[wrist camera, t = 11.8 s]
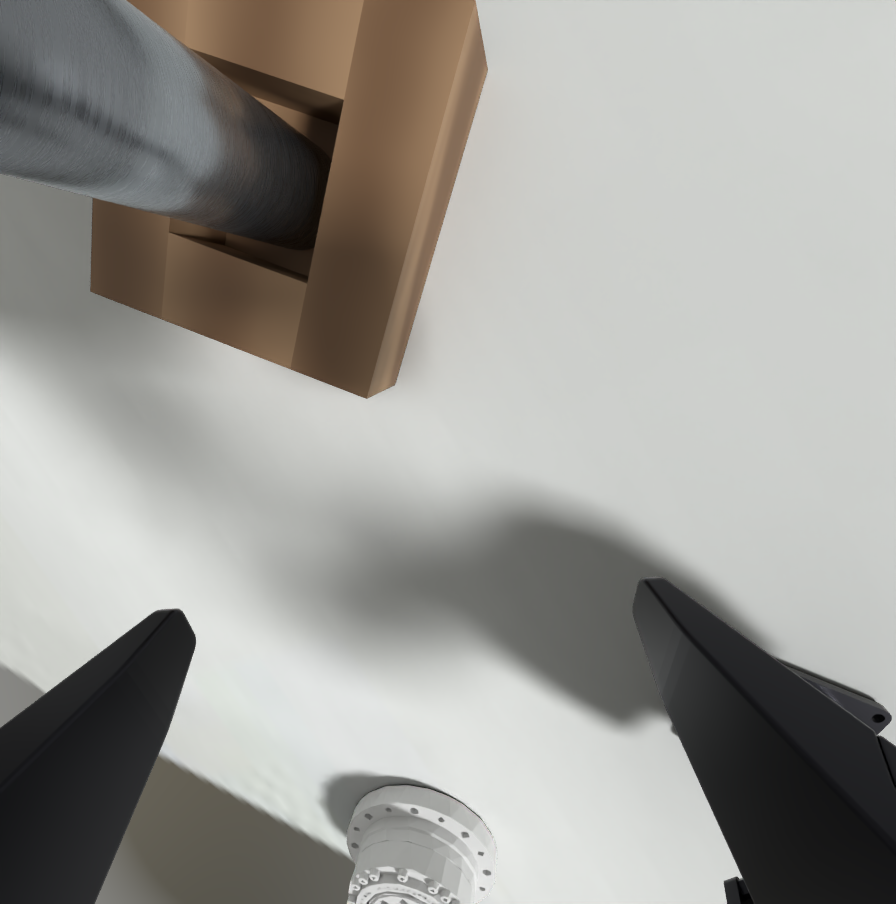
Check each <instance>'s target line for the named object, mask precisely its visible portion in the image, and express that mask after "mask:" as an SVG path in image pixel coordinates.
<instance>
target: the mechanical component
mask: <svg viewBox="0 0 896 904" xmlns="http://www.w3.org/2000/svg"><path fill="white" fill-rule="evenodd" d="M347 845H348V849H349V852H350V855H351V857H352V859H353V860H354V862H355V864H356V867H355V870H354V873H353V876H352V879H351V882H350V887H349V898H348V901H347V904H477V903H479V902H480V901H482V900H483V899H485V898H486V897H488V895H489V893H490V891H491V890H492V888H493V886H494V885H495V878H496V866H497V848H496V845H495V842H494V839H493V836H492V834H491V833H490V831H489V830H488V829H487V827H486V826H485V824H484V823H483V821H482V820H481V819H480V818H479V817H478V816H477V815H475V814H474V813H473V812H472V811H470V810H469V809H468V808H467V807H466V806H464V805H463V804H462V803H460V802H458V801H456V800H455V799H453V798H451V797H449V796H447V795H444V794H441V793H439V792H436V791H434V790H431V789H427V788H421V787H415V786H409V785H400V786H385V787H383V788H380V789H377V790H375V791H372V792H370V793H368V794H367V795H366V796H365V797H363V798H362V799H361V800H360V801H359V803H358V804H357V806H356V807H355V810H354V813H353V816H352V818H351V821H350V824H349V827H348V830H347Z"/></svg>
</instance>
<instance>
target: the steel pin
mask: <svg viewBox="0 0 896 904" xmlns="http://www.w3.org/2000/svg"><path fill="white" fill-rule="evenodd" d="M331 162H332V161H331V159H330V158H329V157H328V155H327V154H326V153H325V152H324V151H323V150H322V149H321V148H320V147H319V146H317V145H316V144H315V143H313V142H312V141H311V140H309V139H308V138H307V137H305V136H304V135H303V134H302V133H300V132H299V131H298V130H296V129H295V128H294V127H292V126H291V125H290V124H288V123H287V122H286V121H284V120H283V119H282V118H280V117H279V116H278V115H277V114H275V113H274V112H273V111H271V110H270V109H269V108H267V107H266V106H265V105H263V104H262V103H261V102H259V101H258V100H257V99H255V98H254V97H253V96H252V95H250V94H249V93H248V92H246V91H245V90H244V89H242V88H241V87H240V86H238V85H237V84H236V83H234V82H233V81H232V80H230V79H229V78H228V77H227V76H225V75H224V74H223V73H221V72H220V71H219V70H217V69H216V68H215V67H213V66H212V65H211V64H209V63H208V62H207V61H205V60H204V59H203V58H202V57H200V56H199V55H198V54H196V53H195V52H194V51H192V50H191V49H190V48H188V47H187V46H186V45H184V44H183V43H182V42H180V41H179V40H178V39H176V38H175V37H174V36H173V35H171V34H170V33H169V32H167V31H166V30H165V29H163V28H162V27H161V26H159V25H158V24H157V23H155V22H154V21H153V20H151V19H150V18H149V17H148V16H146V15H145V14H144V13H142V12H141V11H140V10H138V9H137V8H136V7H134V6H133V5H132V4H130V3H129V2H128V1H126V0H0V174H4V175H8V176H12V177H16V178H20V179H23V180H27V181H31V182H35V183H39V184H43V185H46V186H50V187H54V188H58V189H62V190H66V191H69V192H73V193H77V194H81V195H85V196H89V197H92V198H96V199H100V200H104V201H108V202H112V203H115V204H119V205H123V206H127V207H131V208H135V209H138V210H142V211H146V212H150V213H154V214H158V215H162V216H165V217H169V218H173V219H177V220H181V221H185V222H188V223H192V224H196V225H200V226H204V227H208V228H211V229H215V230H219V231H223V232H227V233H231V234H234V235H238V236H242V237H246V238H250V239H254V240H257V241H261V242H265V243H269V244H273V245H277V246H280V247H284V248H288V249H292V250H308V249H312V248H314V247H315V242H316V237H317V232H318V227H319V222H320V217H321V212H322V207H323V202H324V197H325V192H326V187H327V182H328V177H329V172H330V167H331Z"/></svg>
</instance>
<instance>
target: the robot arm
mask: <svg viewBox="0 0 896 904" xmlns="http://www.w3.org/2000/svg"><path fill="white" fill-rule="evenodd" d="M633 616H634V620H635V623H636V626H637V629H638V631H639V634H640V637H641V640H642V643H643V646H644V649H645V652H646V655H647V658H648V661H649V664H650V667H651V670H652V673H653V676H654V679H655V682H656V685H657V687H658V690H659V693H660V696H661V698H662V700H663V703H664V705H665V708H666V710H667V712H668V714H669V717H670V719H671V721H672V723H673V725H674V728H675V730H676V732H677V734H678V736H679V739H680V741H681V743H682V745H683V747H684V750H685V752H686V754H687V756H688V758H689V761H690V763H691V765H692V767H693V769H694V772H695V774H696V776H697V778H698V780H699V783H700V785H701V787H702V789H703V791H704V794H705V796H706V798H707V800H708V802H709V805H710V807H711V809H712V811H713V814H714V816H715V818H716V820H717V822H718V825H719V827H720V829H721V831H722V833H723V836H724V838H725V840H726V842H727V844H728V847H729V849H730V851H731V853H732V855H733V858H734V860H735V862H736V864H737V866H738V869H739V871H740V873H741V875H742V877H743V878H741V879H739V878H738V877H734V878H731V879H728V880H725V881H724V887H725V893H726V899H727V904H896V746H895V745H893V744H892V743H891V742H889V741H888V740H887V739H885V738H884V737H882V736H879V735H878V734H879V733H880V732H881V731H882V730H883V729H884V728H885V727H886V726H887V725H888V724H889V723H890V721H891V720H892V716H891V715H890V713H889V712H888V711H887V710H886V709H885V708H884V707H883V706H882V705H881V704H879V703H877V702H874V701H872V700H869V699H867V698H864V697H862V696H859V695H857V694H855V693H852V692H850V691H847V690H845V689H842V688H840V687H837V686H835V685H832V684H830V683H827V682H825V681H823V680H820V679H818V678H815V677H813V676H810V675H808V674H805V673H803V672H800V671H798V670H795V669H793V668H790V667H788V666H786V665H783V664H782V663H780V662H779V661H778V660H776V659H775V658H774V657H772V656H771V655H769V654H768V653H767V652H765V651H764V650H763V649H761V648H760V647H758V646H757V645H756V644H754V643H753V642H752V641H750V640H749V639H747V638H746V637H745V636H743V635H742V634H741V633H739V632H738V631H737V630H735V629H734V628H732V627H731V626H730V625H728V624H727V623H726V622H724V621H723V620H721V619H720V618H719V617H717V616H716V615H715V614H713V613H712V612H710V611H709V610H708V609H706V608H705V607H704V606H702V605H701V604H699V603H698V602H697V601H695V600H694V599H693V598H691V597H690V596H688V595H687V594H686V593H684V592H683V591H682V590H680V589H679V588H677V587H676V586H675V585H673V584H672V583H671V582H669V581H668V580H666V579H665V578H663V577H645V578H641V579H640V580H639V582H638V586H637V590H636V594H635V599H634V603H633ZM195 646H196V637H195V634H194V632H193V630H192V628H191V626H190V624H189V622H188V620H187V618H186V617H185V615H184V613H183V611H181V610H180V609H162V610H157V611H155V612H153V613H152V614H150V615H149V616H148V617H147V618H145V619H144V620H143V621H141V622H140V623H139V624H137V625H136V626H135V627H133V628H132V629H131V630H129V631H128V632H127V633H125V634H124V635H123V636H121V637H120V638H119V639H117V640H116V641H115V642H113V643H112V644H111V645H109V646H108V647H107V648H105V649H104V650H103V651H101V652H100V653H99V654H97V655H96V656H95V657H94V658H92V659H91V660H90V661H88V662H87V663H86V664H84V665H83V666H82V667H80V668H79V669H78V670H76V671H75V672H74V673H72V674H71V675H70V676H68V677H67V678H66V679H64V680H63V681H62V682H60V683H59V684H58V685H56V686H55V687H54V688H52V689H51V690H50V691H48V692H47V693H46V694H44V695H43V696H42V697H41V698H39V699H38V700H37V701H35V702H34V703H33V704H31V705H30V706H29V707H27V708H26V709H25V710H23V711H22V712H21V713H19V714H18V715H17V716H15V717H14V718H13V719H11V720H10V721H9V722H7V723H6V724H5V725H3V726H2V727H1V728H0V904H95V902H96V899H97V897H98V895H99V892H100V890H101V888H102V885H103V883H104V881H105V878H106V876H107V874H108V871H109V869H110V866H111V864H112V861H113V860H114V857H115V855H116V852H117V850H118V848H119V845H120V843H121V841H122V838H123V836H124V834H125V831H126V829H127V827H128V824H129V822H130V820H131V817H132V815H133V813H134V810H135V808H136V805H137V803H138V801H139V798H140V796H141V794H142V791H143V789H144V787H145V785H146V782H147V780H148V777H149V775H150V773H151V770H152V768H153V766H154V763H155V761H156V759H157V756H158V754H159V752H160V749H161V747H162V745H163V742H164V740H165V737H166V735H167V732H168V730H169V727H170V724H171V721H172V718H173V715H174V712H175V709H176V706H177V703H178V700H179V697H180V694H181V691H182V687H183V684H184V681H185V678H186V675H187V672H188V669H189V666H190V662H191V659H192V656H193V653H194V650H195ZM877 735H878V736H877Z"/></svg>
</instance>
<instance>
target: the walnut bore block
mask: <svg viewBox="0 0 896 904" xmlns="http://www.w3.org/2000/svg"><path fill="white" fill-rule="evenodd" d="M126 1H128V2H129V3H130V4H132V5H133V6H134V7H136V8H137V9H138V10H140V11H141V12H142V13H144V14H145V15H146V16H148V17H149V18H150V19H151V20H153V21H154V22H155V23H157V24H158V25H159V26H161V27H162V28H163V29H165V30H166V31H167V32H169V33H170V34H171V35H173V36H174V37H175V38H176V39H178V40H179V41H180V42H182V43H183V44H184V45H186V46H187V47H188V48H190V49H191V50H192V51H194V52H195V53H196V54H198V55H199V56H200V57H202V58H203V59H204V60H205V61H207V62H208V63H209V64H211V65H212V66H213V67H215V68H216V69H217V70H219V71H220V72H221V73H223V74H224V75H225V76H227V77H228V78H229V79H230V80H232V81H233V82H234V83H236V84H237V85H238V86H240V87H241V88H242V89H244V90H245V91H246V92H248V93H249V94H250V95H252V96H253V97H254V98H255V99H257V100H258V101H259V102H261V103H262V104H263V105H265V106H266V107H267V108H269V109H270V110H271V111H273V112H274V113H275V114H277V115H278V116H279V117H280V118H282V119H283V120H284V121H286V122H287V123H288V124H290V125H291V126H292V127H294V128H295V129H296V130H298V131H299V132H300V133H302V134H303V135H304V136H305V137H307V138H308V139H309V140H311V141H312V142H313V143H315V144H316V145H317V146H319V147H320V148H321V149H322V150H323V151H324V152H325V153H326V154H327V155H328V157H329V158H330V159H331V161H332V162H331V167H330V172H329V177H328V182H327V187H326V192H325V197H324V202H323V207H322V212H321V217H320V222H319V227H318V232H317V237H316V242H315V247H314V248H312V249H308V250H292V249H288V248H284V247H280V246H277V245H273V244H269V243H265V242H261V241H257V240H254V239H250V238H246V237H242V236H238V235H234V234H231V233H227V232H223V231H219V230H215V229H211V228H208V227H204V226H200V225H196V224H192V223H188V222H185V221H181V220H177V219H173V218H169V217H165V216H162V215H158V214H154V213H150V212H146V211H142V210H138V209H135V208H131V207H127V206H123V205H119V204H115V203H112V202H108V201H104V200H100V199H96V198H93V209H92V249H91V288H90V292H93V293H95V294H98V295H100V296H103V297H106V298H108V299H111V300H113V301H116V302H118V303H121V304H124V305H126V306H129V307H131V308H134V309H137V310H139V311H142V312H144V313H147V314H149V315H152V316H155V317H157V318H160V319H162V320H165V321H167V322H170V323H173V324H175V325H178V326H180V327H183V328H185V329H188V330H191V331H193V332H196V333H198V334H201V335H204V336H206V337H209V338H211V339H214V340H216V341H219V342H222V343H224V344H227V345H229V346H232V347H234V348H237V349H240V350H242V351H245V352H247V353H250V354H253V355H255V356H258V357H260V358H263V359H265V360H268V361H271V362H273V363H276V364H278V365H281V366H283V367H286V368H289V369H291V370H294V371H296V372H299V373H301V374H304V375H307V376H309V377H312V378H314V379H317V380H320V381H322V382H325V383H327V384H330V385H332V386H335V387H338V388H340V389H343V390H345V391H348V392H350V393H353V394H356V395H358V396H361V397H363V398H366V399H367V398H369V397H371V396H373V395H375V394H377V393H379V392H382V391H384V390H386V389H388V388H390V387H392V386H394V385H395V383H396V380H397V376H398V373H399V370H400V366H401V363H402V359H403V356H404V353H405V349H406V346H407V342H408V339H409V336H410V332H411V329H412V325H413V322H414V319H415V315H416V312H417V308H418V305H419V302H420V298H421V295H422V291H423V288H424V285H425V281H426V278H427V274H428V271H429V268H430V264H431V261H432V258H433V254H434V251H435V247H436V244H437V241H438V237H439V234H440V230H441V227H442V224H443V220H444V217H445V213H446V210H447V207H448V203H449V200H450V196H451V193H452V190H453V186H454V183H455V179H456V176H457V173H458V169H459V166H460V162H461V159H462V156H463V152H464V149H465V145H466V142H467V139H468V135H469V132H470V128H471V125H472V122H473V118H474V115H475V111H476V108H477V105H478V101H479V98H480V95H481V91H482V88H483V84H484V81H485V78H486V74H487V71H488V68H487V62H486V57H485V51H484V46H483V40H482V35H481V29H480V23H479V18H478V12H477V7H476V1H475V0H126Z"/></svg>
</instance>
